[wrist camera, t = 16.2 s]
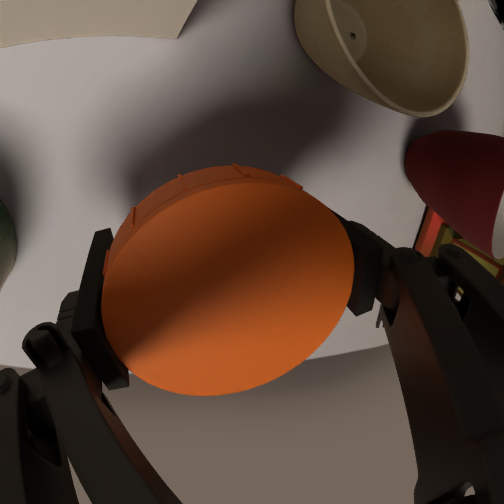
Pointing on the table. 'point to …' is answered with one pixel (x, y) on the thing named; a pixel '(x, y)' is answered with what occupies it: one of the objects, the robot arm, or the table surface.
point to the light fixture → (443, 233)
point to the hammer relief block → (90, 19)
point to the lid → (224, 281)
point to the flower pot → (389, 49)
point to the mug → (462, 183)
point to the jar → (6, 245)
